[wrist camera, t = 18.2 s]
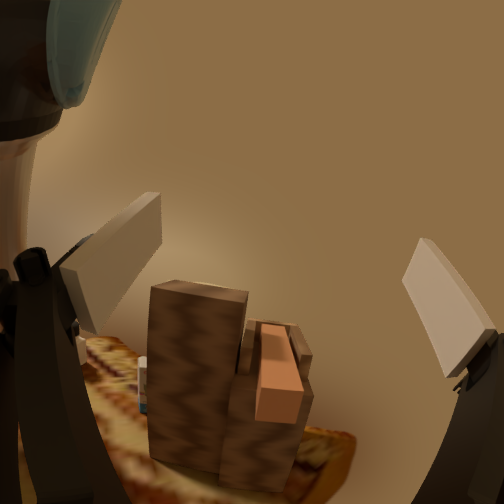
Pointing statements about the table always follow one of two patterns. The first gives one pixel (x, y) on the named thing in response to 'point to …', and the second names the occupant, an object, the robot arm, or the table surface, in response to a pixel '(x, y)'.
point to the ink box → (142, 384)
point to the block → (277, 378)
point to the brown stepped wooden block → (216, 388)
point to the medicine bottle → (80, 344)
